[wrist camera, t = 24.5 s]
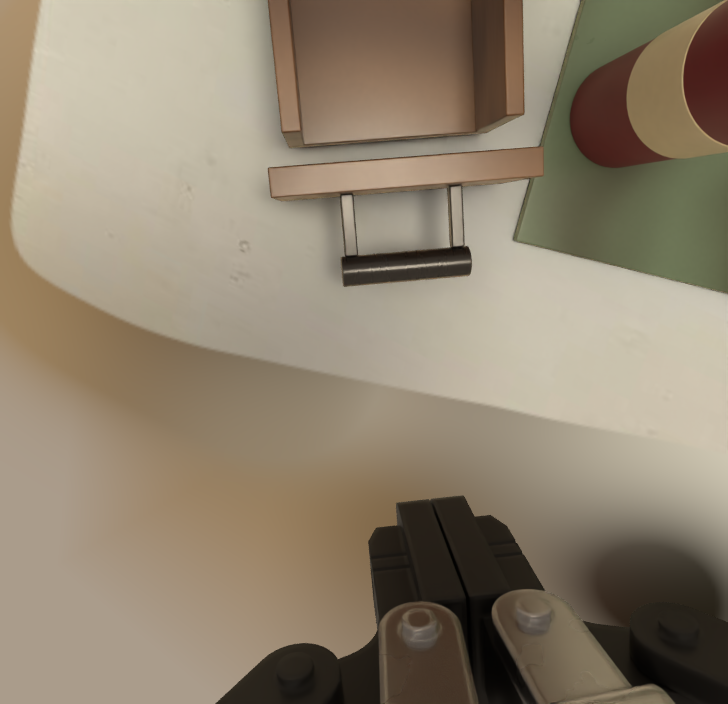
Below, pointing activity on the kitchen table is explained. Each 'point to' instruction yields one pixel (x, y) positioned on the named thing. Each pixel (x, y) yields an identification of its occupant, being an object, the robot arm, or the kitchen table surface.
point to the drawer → (398, 109)
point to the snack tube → (659, 97)
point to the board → (627, 170)
